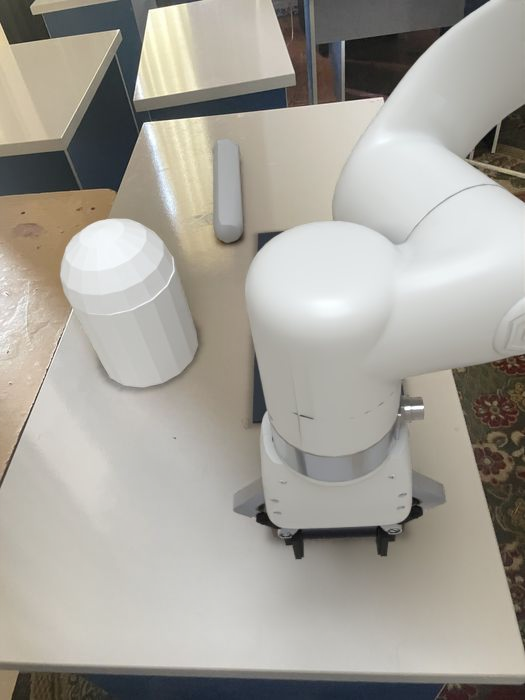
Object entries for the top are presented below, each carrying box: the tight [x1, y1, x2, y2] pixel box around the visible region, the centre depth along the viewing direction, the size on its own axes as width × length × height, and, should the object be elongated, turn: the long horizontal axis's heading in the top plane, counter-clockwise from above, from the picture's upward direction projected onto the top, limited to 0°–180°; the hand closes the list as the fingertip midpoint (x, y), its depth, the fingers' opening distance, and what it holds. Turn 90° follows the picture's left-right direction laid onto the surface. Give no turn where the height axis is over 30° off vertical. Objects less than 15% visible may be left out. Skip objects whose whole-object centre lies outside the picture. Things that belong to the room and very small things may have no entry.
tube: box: [211, 138, 245, 244], centre depth 96 cm, size 5×5×25 cm
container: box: [59, 218, 199, 389], centre depth 70 cm, size 14×13×20 cm
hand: (339, 539), depth 47 cm, fingers closed on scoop, 6 cm apart
